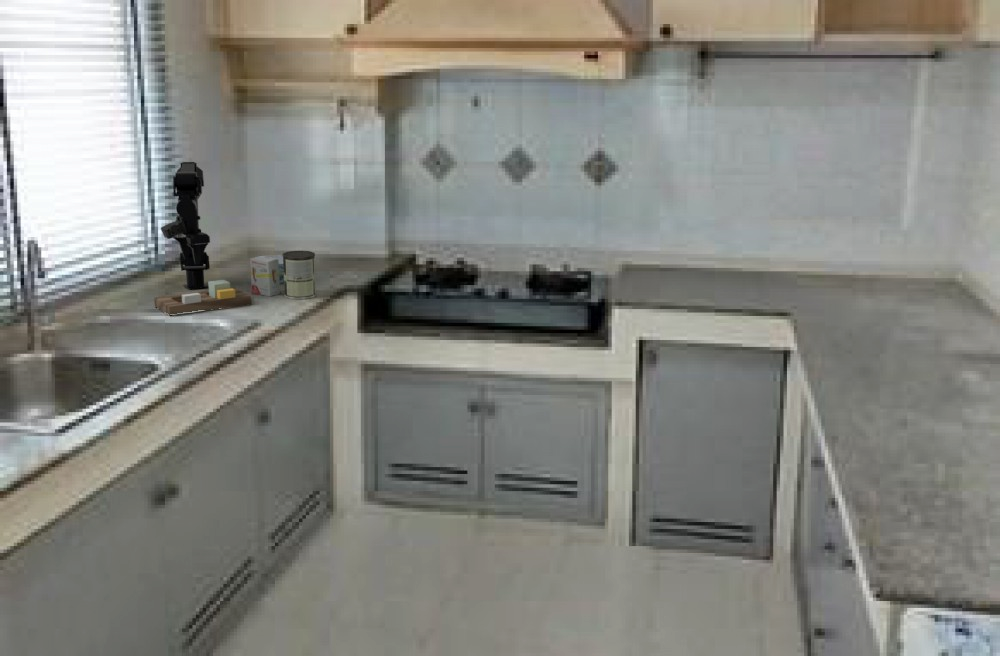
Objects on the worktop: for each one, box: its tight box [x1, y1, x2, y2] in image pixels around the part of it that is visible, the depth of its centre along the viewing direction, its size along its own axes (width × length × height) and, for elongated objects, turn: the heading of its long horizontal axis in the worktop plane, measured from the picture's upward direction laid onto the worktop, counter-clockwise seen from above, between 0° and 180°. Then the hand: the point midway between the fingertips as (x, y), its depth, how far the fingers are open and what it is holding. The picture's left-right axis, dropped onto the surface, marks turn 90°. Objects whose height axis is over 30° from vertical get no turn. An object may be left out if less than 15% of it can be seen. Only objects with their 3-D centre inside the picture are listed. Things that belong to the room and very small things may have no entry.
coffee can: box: [282, 250, 317, 300], centre depth 321 cm, size 10×10×14 cm
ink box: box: [249, 255, 281, 297], centre depth 324 cm, size 9×5×12 cm, turn 57°
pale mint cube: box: [207, 279, 231, 298], centre depth 310 cm, size 5×5×7 cm
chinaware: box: [265, 254, 284, 284], centre depth 341 cm, size 15×15×8 cm
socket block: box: [153, 286, 253, 315], centre depth 307 cm, size 13×26×5 cm, turn 128°
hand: (191, 261), depth 314 cm, fingers open, 9 cm apart
